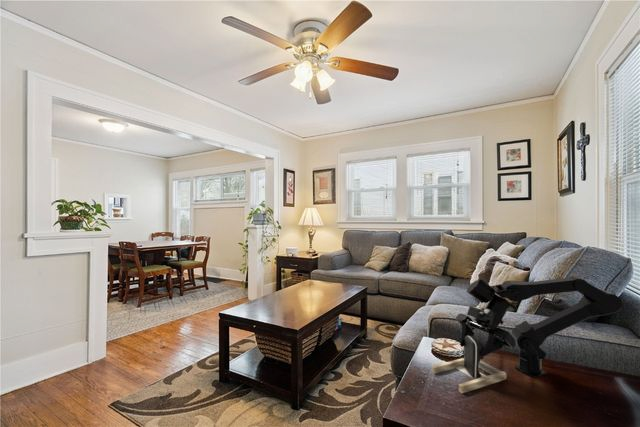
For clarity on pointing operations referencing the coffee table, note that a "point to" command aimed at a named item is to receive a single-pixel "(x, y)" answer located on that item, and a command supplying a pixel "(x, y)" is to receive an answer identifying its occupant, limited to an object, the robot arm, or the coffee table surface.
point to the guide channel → (477, 381)
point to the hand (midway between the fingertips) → (470, 350)
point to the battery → (472, 355)
